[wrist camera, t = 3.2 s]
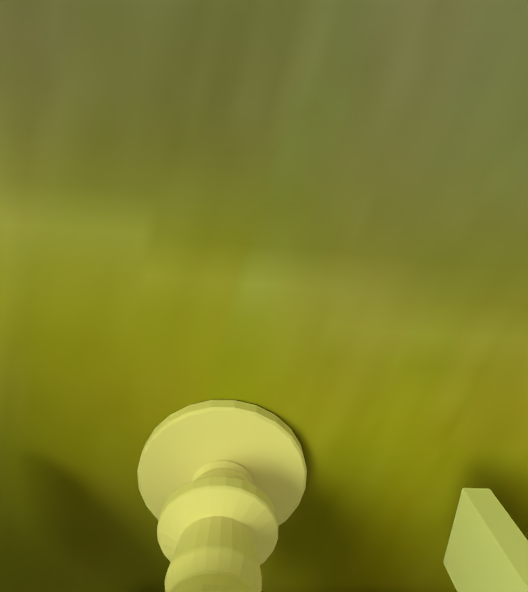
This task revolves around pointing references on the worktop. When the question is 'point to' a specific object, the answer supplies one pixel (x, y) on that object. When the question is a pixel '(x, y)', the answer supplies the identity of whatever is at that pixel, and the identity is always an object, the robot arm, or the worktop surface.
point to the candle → (220, 492)
